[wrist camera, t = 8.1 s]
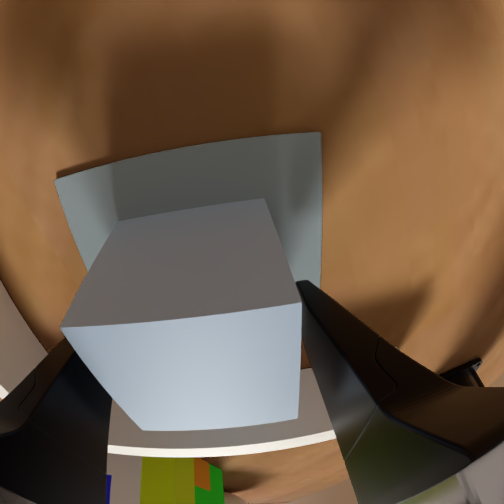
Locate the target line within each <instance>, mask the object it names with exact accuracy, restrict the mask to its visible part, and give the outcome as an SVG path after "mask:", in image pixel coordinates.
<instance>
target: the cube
mask: <svg viewBox="0 0 504 504" xmlns="http://www.w3.org/2000/svg"><path fill="white" fill-rule="evenodd" d="M301 327H302V301H301V298H300V295H299V293H298V290H297V287H296V284H295V281H294V278H293V275H292V273H291V270H290V267H289V264H288V261H287V259H286V256H285V253H284V250H283V247H282V245H281V242H280V239H279V236H278V234H277V231H276V228H275V226H274V223H273V220H272V217H271V215H270V212H269V209H268V207H267V204H266V201H265V199H264V198H261V199H253V200H245V201H238V202H231V203H224V204H217V205H210V206H204V207H197V208H191V209H185V210H179V211H173V212H167V213H161V214H155V215H150V216H144V217H139V218H133V219H128V220H123V221H118V222H117V224H116V226H115V227H114V229H113V230H112V232H111V234H110V235H109V237H108V238H107V240H106V242H105V243H104V245H103V247H102V248H101V250H100V252H99V253H98V255H97V257H96V259H95V260H94V262H93V264H92V266H91V267H90V269H89V271H88V273H87V275H86V276H85V278H84V280H83V282H82V284H81V286H80V287H79V289H78V291H77V293H76V295H75V297H74V299H73V301H72V303H71V305H70V307H69V309H68V311H67V313H66V315H65V317H64V319H63V321H62V324H61V326H60V329H61V331H62V332H63V334H64V335H65V337H66V338H67V340H68V341H69V342H70V344H71V345H72V347H73V348H74V350H75V351H76V352H77V354H78V355H79V357H80V358H81V359H82V361H83V362H84V363H85V365H86V366H87V367H88V369H89V370H90V371H91V372H92V374H93V375H94V376H95V378H96V379H97V380H98V381H99V383H100V384H101V385H102V386H103V387H104V389H105V390H106V391H107V392H108V393H109V395H110V396H111V397H112V398H113V399H114V400H115V401H116V403H117V404H118V405H119V406H120V407H121V408H122V409H123V410H124V411H125V413H126V414H127V415H128V416H129V417H130V418H131V419H132V420H133V421H134V422H135V423H136V424H137V425H138V426H139V427H140V428H141V429H142V430H147V431H186V430H208V429H222V428H234V427H243V426H252V425H260V424H267V423H274V422H280V421H286V420H292V419H297V418H298V406H299V386H300V362H301Z"/></svg>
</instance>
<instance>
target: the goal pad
mask: <svg viewBox="0 0 504 504" xmlns="http://www.w3.org/2000/svg"><path fill="white" fill-rule="evenodd" d="M54 182H55V186H56V189H57V192H58V195H59V198H60V201H61V204H62V207H63V210H64V213H65V216H66V219H67V221H68V224H69V227H70V229H71V232H72V235H73V237H74V240H75V242H76V245H77V247H78V250H79V252H80V254H81V257H82V259H83V262H84V264H85V266H86V268H87V271H89V269H90V267H91V266H92V264H93V262H94V260H95V259H96V257H97V255H98V253H99V252H100V250H101V248H102V247H103V245H104V243H105V242H106V240H107V238H108V237H109V235H110V234H111V232H112V230H113V229H114V227H115V226H116V224H117V222H118V221H123V220H128V219H133V218H139V217H144V216H150V215H155V214H161V213H167V212H173V211H179V210H185V209H191V208H197V207H204V206H210V205H217V204H224V203H231V202H238V201H245V200H253V199H261V198H264V199H265V201H266V204H267V207H268V209H269V212H270V215H271V217H272V220H273V223H274V226H275V228H276V231H277V234H278V236H279V239H280V242H281V245H282V247H283V250H284V253H285V256H286V259H287V261H288V264H289V267H290V270H291V273H292V275H293V278H294V281H295V282H296V281H300V280H309V281H310V282H312V283H313V284H314V285H316V286H317V287H318V288H319V289H320V275H321V248H322V148H321V132H305V133H290V134H278V135H267V136H257V137H248V138H240V139H232V140H225V141H218V142H211V143H205V144H199V145H193V146H187V147H181V148H176V149H171V150H165V151H160V152H156V153H151V154H146V155H142V156H137V157H133V158H129V159H125V160H120V161H116V162H112V163H109V164H105V165H101V166H97V167H94V168H90V169H87V170H83V171H80V172H76V173H73V174H70V175H67V176H63V177H60V178H57V179H55V180H54ZM301 337H302V334H301Z"/></svg>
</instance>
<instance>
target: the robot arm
mask: <svg viewBox="0 0 504 504" xmlns="http://www.w3.org/2000/svg"><path fill="white" fill-rule="evenodd" d="M295 284H296V287H297V290H298V293H299V295H300V298H301V301H302V327H301V334H302V339H303V343H304V347H305V350H306V353H307V356H308V359H309V362H310V364H311V367H312V370H313V373H314V376H315V378H316V381H317V384H318V387H319V390H320V392H321V395H322V398H323V401H324V404H325V407H326V409H327V412H328V415H329V418H330V421H331V424H332V427H333V430H334V432H335V435H336V438H337V441H338V444H339V447H340V450H341V453H342V456H343V459H344V461H345V465H346V468H347V471H348V474H349V477H350V480H351V483H352V486H353V489H354V492H355V495H356V497H357V501H358V504H504V387H484V385H483V383H482V381H481V380H480V378H479V376H478V375H477V373H476V371H477V369H478V368H479V366H480V365H481V363H482V360H481V358H478V359H476V360H474V361H472V362H470V363H468V364H466V365H464V366H462V367H460V368H457V369H455V370H453V371H451V372H449V373H446V374H444V375H442V376H439V375H437V374H436V373H434V372H432V371H431V370H429V369H427V368H426V367H424V366H423V365H421V364H419V363H418V362H416V361H415V360H413V359H412V358H410V357H409V356H407V355H405V354H404V353H402V352H401V351H400V350H398V349H397V348H396V347H394V346H393V345H392V344H390V343H389V342H388V341H386V340H385V339H384V338H383V337H381V336H380V337H379V334H377V333H376V332H375V331H373V330H372V329H371V328H370V327H368V326H367V325H366V324H364V323H363V322H362V321H361V320H359V319H358V318H357V317H356V316H354V315H353V314H352V313H350V312H349V311H348V310H347V309H345V308H344V307H343V306H341V305H340V304H339V303H338V302H336V301H335V300H334V299H332V298H331V297H330V296H328V295H327V294H326V293H325V292H323V291H322V290H321V289H319V288H318V287H317V286H316V285H314V284H313V283H312V282H310V281H309V280H300V281H296V282H295ZM111 407H112V397H111V396H110V395H109V393H108V392H107V391H106V390H105V389H104V387H103V386H102V385H101V384H100V383H99V381H98V380H97V379H96V378H95V376H94V375H93V374H92V372H91V371H90V370H89V369H88V367H87V366H86V365H85V363H84V362H83V361H82V359H81V358H80V357H79V355H78V354H77V352H76V351H75V350H74V348H73V347H72V345H71V344H70V342H69V341H68V340H67V338H66V337H65V338H64V339H63V340H62V341H61V342H60V343H59V344H58V345H57V346H56V347H55V348H54V349H53V350H52V351H51V352H50V353H49V354H48V355H47V356H46V357H45V358H44V359H43V360H42V361H41V362H40V363H39V364H38V365H37V366H36V368H34V369H33V370H32V371H31V372H30V373H29V374H28V375H27V376H26V377H25V378H24V379H23V380H22V381H21V382H20V384H18V385H17V386H16V387H15V388H14V389H13V390H12V391H11V392H10V393H9V394H8V395H7V396H6V397H5V398H4V399H3V400H2V401H0V504H106V484H107V475H106V474H107V453H108V438H109V426H110V416H111Z"/></svg>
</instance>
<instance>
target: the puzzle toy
mask: <svg viewBox="0 0 504 504" xmlns="http://www.w3.org/2000/svg"><path fill="white" fill-rule="evenodd" d="M106 475H107V484H106V504H225V501H224V489H223V475H222V470H221V469H219V468H217V467H215V466H213V465H211V464H210V463H208V462H206V461H204V460H203V459H201V458H199V457H147V456H133V455H122V454H113V453H107V474H106Z"/></svg>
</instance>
